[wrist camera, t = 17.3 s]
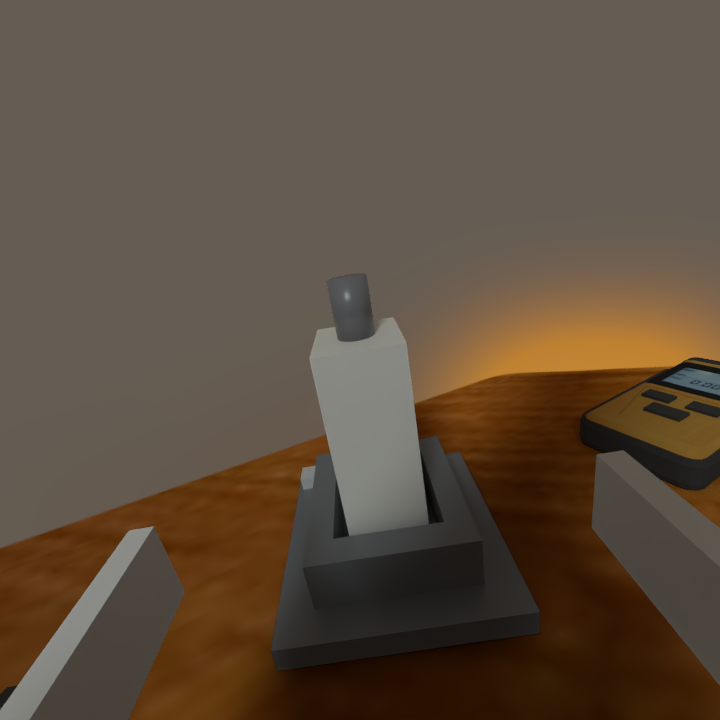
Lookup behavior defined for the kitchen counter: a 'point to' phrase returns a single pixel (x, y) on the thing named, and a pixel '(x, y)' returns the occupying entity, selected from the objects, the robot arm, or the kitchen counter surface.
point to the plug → (368, 413)
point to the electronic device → (665, 424)
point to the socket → (397, 574)
